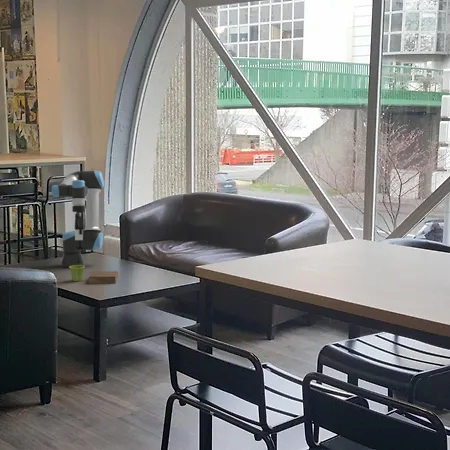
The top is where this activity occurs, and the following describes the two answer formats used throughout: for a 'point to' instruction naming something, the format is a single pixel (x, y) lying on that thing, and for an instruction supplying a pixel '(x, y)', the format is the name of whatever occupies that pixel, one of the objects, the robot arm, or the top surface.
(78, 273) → the plant pot
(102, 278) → the walnut plinth
